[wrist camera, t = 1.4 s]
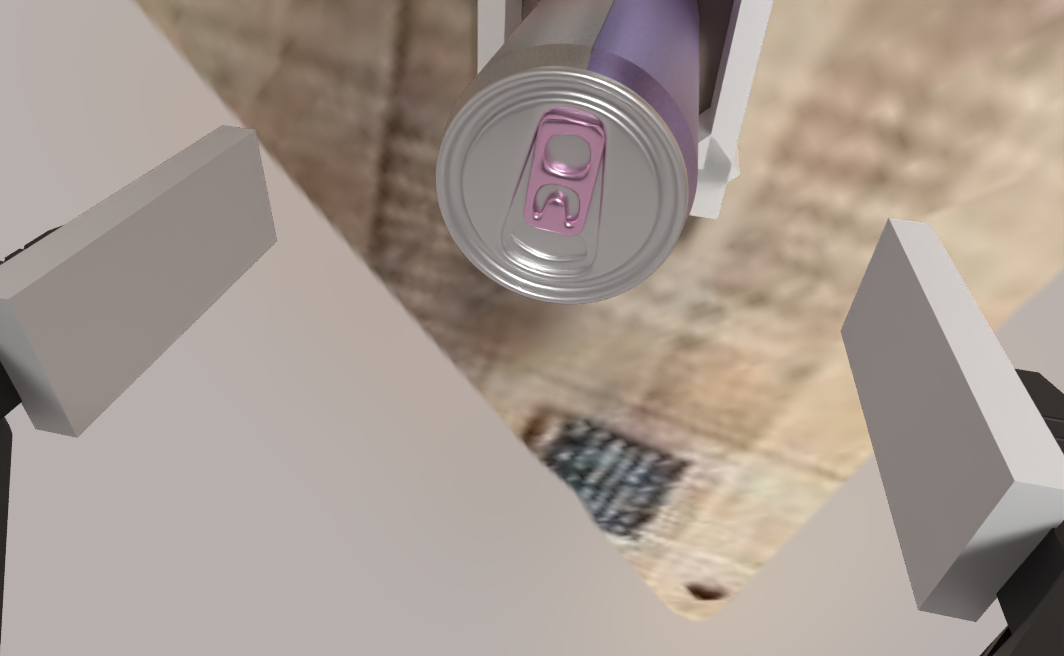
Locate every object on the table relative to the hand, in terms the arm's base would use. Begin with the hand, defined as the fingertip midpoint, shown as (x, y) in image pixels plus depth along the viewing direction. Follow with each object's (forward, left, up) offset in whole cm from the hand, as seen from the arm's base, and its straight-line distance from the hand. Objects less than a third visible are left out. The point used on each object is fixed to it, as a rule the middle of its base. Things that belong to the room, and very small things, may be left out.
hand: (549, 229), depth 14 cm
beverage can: (0, 0, -16) cm, 16 cm away
